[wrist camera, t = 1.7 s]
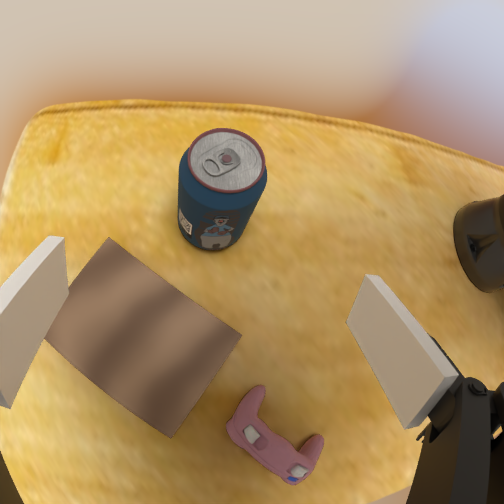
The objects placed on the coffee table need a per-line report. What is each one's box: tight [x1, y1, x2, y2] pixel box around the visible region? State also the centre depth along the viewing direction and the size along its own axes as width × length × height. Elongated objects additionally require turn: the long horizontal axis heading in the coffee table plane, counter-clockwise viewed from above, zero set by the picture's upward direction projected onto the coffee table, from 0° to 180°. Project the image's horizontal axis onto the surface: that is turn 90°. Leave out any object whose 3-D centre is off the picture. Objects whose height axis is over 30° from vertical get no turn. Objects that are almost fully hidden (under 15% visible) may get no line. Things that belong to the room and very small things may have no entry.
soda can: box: [178, 128, 267, 250], centre depth 28 cm, size 7×7×12 cm
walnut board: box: [44, 237, 242, 438], centre depth 27 cm, size 16×12×2 cm
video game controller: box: [226, 385, 324, 485], centre depth 25 cm, size 10×5×7 cm, turn 46°
